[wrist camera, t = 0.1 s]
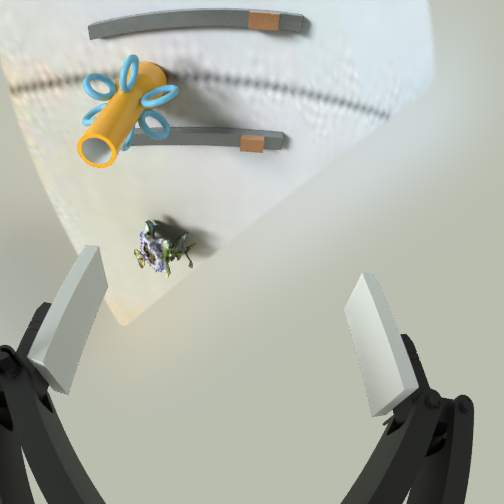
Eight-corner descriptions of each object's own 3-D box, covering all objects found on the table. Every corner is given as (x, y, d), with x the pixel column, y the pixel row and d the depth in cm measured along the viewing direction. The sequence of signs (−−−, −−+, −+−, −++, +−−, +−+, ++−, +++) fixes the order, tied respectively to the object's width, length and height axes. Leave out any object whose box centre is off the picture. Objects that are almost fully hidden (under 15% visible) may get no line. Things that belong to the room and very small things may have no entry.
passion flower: (156, 205, 58) (128, 220, 47) (205, 216, 58) (187, 234, 47) (151, 255, 62) (125, 278, 51) (197, 267, 62) (179, 293, 51)
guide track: (116, 140, 38) (111, 150, 37) (93, 23, 22) (83, 28, 21) (280, 143, 39) (281, 154, 38) (301, 14, 23) (304, 17, 22)
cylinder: (207, 82, 31) (182, 153, 23) (157, 130, 37) (123, 209, 29) (133, 26, 24) (67, 73, 16) (90, 84, 30) (31, 153, 21)
